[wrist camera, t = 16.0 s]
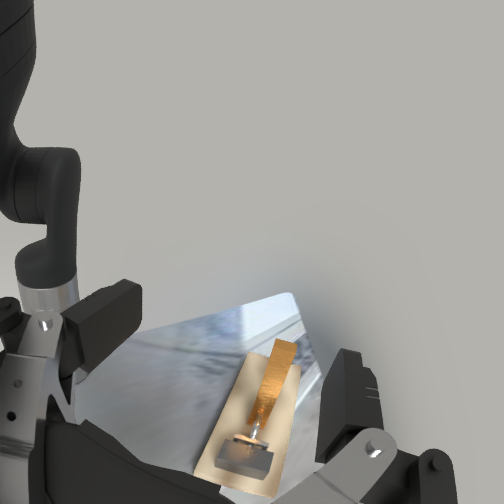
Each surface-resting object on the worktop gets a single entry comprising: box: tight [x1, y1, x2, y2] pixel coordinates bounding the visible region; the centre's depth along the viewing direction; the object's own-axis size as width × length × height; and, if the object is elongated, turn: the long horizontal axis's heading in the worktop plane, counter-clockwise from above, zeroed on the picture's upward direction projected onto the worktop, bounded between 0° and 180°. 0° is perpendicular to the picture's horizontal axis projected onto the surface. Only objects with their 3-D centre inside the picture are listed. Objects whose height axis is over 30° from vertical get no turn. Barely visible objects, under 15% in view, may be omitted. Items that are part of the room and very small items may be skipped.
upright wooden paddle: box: [233, 338, 297, 450], centre depth 29 cm, size 4×10×15 cm, turn 167°
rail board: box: [194, 352, 302, 498], centre depth 35 cm, size 10×26×2 cm, turn 167°
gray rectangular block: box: [215, 434, 274, 481], centre depth 26 cm, size 6×6×3 cm
